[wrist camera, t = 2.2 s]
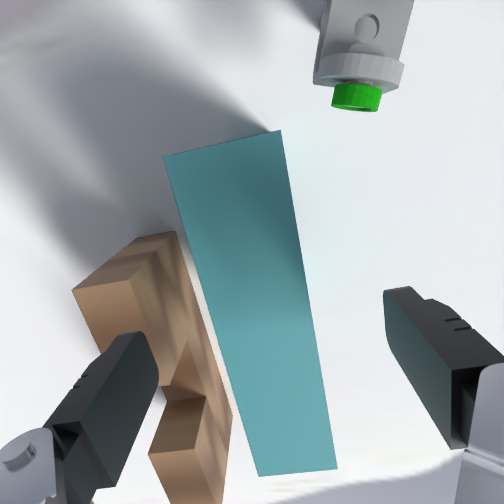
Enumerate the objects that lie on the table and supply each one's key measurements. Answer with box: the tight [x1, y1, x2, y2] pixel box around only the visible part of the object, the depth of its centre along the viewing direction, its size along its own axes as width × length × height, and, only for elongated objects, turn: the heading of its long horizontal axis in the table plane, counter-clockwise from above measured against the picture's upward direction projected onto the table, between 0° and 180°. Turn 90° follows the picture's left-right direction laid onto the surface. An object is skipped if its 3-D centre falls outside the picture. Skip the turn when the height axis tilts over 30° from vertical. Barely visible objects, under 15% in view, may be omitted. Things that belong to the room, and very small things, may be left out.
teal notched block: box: [163, 130, 338, 477], centre depth 16 cm, size 12×3×13 cm, turn 12°
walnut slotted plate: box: [71, 231, 233, 504], centre depth 22 cm, size 18×3×8 cm, turn 12°
